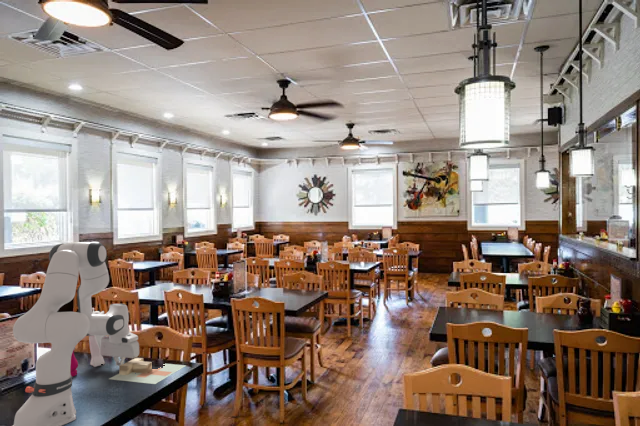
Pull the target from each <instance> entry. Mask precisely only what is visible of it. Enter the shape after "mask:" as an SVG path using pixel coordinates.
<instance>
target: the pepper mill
mask: <svg viewBox="0 0 640 426" xmlns="http://www.w3.org/2000/svg"><path fill="white" fill-rule="evenodd" d="M75 349H76V347H75V348H74V350H73V352H72V355H71V366H70V375H71V376H72V378H73V377H75V376H77V375H78V370H77V369H78V367H79V362H78V359H77V358H76V356H75Z"/></svg>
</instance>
